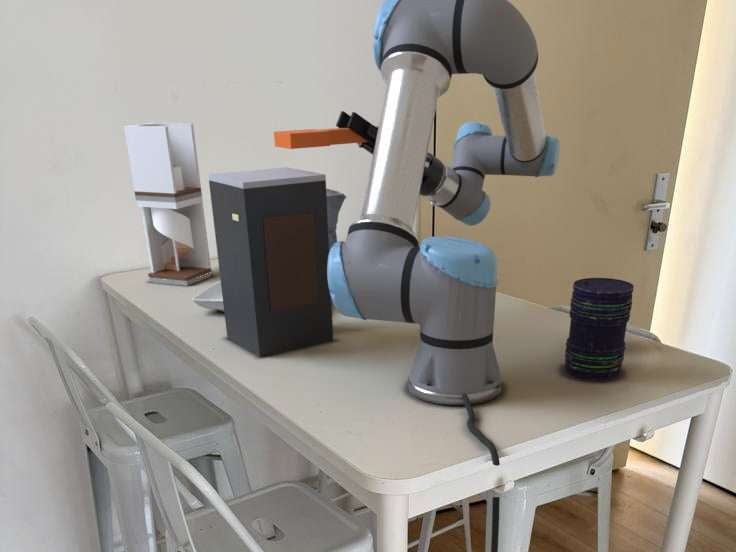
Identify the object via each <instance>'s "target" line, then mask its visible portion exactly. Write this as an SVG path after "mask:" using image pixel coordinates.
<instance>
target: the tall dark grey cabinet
mask: <svg viewBox="0 0 736 552" xmlns="http://www.w3.org/2000/svg"><path fill="white" fill-rule="evenodd" d="M207 176H208V185H209V186H208V187H209V193H210V203H211V210H212V211H211V212H212V219H213V227H214V228H213V229H214V235H215V245H216V253H217V262H218V269H219V278H220V279H219V281H220V280H221V288H222V297H223V305H224V312H223V313H224V322H225V330H226V339H227V340H229V341H231V342H233V343H234V344H236V345H238V346H239V347H241V348H243V349H245V350H246V351H248V352H249V353H252V354H254V356H257V357H258V358H263V357H267V356H272V355H276V354H281V353H285V352H286V353H287V352H289V351H293V350H299V349H303V348H307V347H312V346H316V345H317V346H318V345H321V344H326V343H330V342H333V341H334V327H333V325H334V324H333V306H332V304H333V303H332V299H331V295H330V291H329V286H328V278H327V264H328V256H329V239H328V217H327V196H326V189H327V181H326V180H327V178H326V174H325V173H319V172H314V171H308V170H304V169H299V168H292V167H275V168H265V169H263V168H262V169H253V170H242V171H232V172H231V171H230V172H219V173H209V174H207Z"/></svg>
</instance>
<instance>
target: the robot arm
mask: <svg viewBox="0 0 736 552" xmlns="http://www.w3.org/2000/svg"><path fill="white" fill-rule="evenodd" d="M373 38H374V42H373V43H372V44H373V45H372V48H373V50H372V51H373V58H374V62H375V65H376V67H377V69H378V71H380V76H381V79H382V81H383V82H384V83H385V85H386V86H385V87H386V88H385V93H384V98H383V102H382V108H381V113H380V118H379V123H378V126H379V127H378V128H376V127H375V126H376V125H374V124H373V123H371V122H369V121H368V120H367V119H365V118H364V117H363V116H361V115H360V114H358V113H357V112H356V111H352V112H351V114H348V113H347V112H345V111H343V110H341V111H340V114H339V117H338V119H337V122H336V123H335V126H336V127H337V128H349V129H351V130H352V131H354V132H355V133H357V134H358V135H359V136H361V137H362V138H364V139H365V140H367V141H368V142H362V143H356V144H357V145H358V148H360V149H364V150H365V151H367V152H368V153H370V154H371V155H372V158H371V163H370V168H369V173H368V178H367V183H366V188H365V193H364V197H363V202H362V209H361V213H360V218H359V219H358V220H356V221H353V222H352V223H351V224H350V225H349V227H348V231H347V234H346V235H347V236H346V240H345V241H344V240H340V241H337V242H336V243H335V244H334V245H333V247H332V248H331V249H330V252H329V256H328V264H327V278H328V286H329V291H330V295H331V302H332V304H333V306H334V308H335V309H336V310H337V311H338V313H340V314H341V315H342V316H344V317H348V318H354V319H360V320H362V321H367V320H368V321H369V320H371V321H372V320H373V321H383V322H394V323H404V324H414V325H415V324H416V325H419V330H420V331H419V332H420V334H419V338H420V339H419V345H418V348H417V350H416V353H415V357H414V359H413V363H412V365H411V368H410V371H409V374H408V391H409V392H410V394H412V395H413V396H414V397H416V398H418V399H419V400H423V401H424V402H428V403H432V404H437V405H446V406H464V407H465V411H466V412H467V416H468V418H467V421H466V427H467V428H468V430H469V432H470V433H472V435H473V436H475V438H477V440H478V441H479V442H480V443H482V445H484V446H486V448H487V449H488V450H489V453H490V457H491V461H492V465H493V466H497V467H499V466H500V464H501V462H500V456H499V453H498V450H497V447H496V445H495V444H494V442H493V441H492V440H491V439H489V438H488V437H486V436H485V434H484V433H483V432H481V430H479V429H478V428H477V427H476V426H475V424H474V422H475V419H476V415H475V410H474V408H473V406H472V405H475V404H481V403H485V402H488V401H491V400H493V399H495V398H496V397H498V396H499V394H500V393H501V391H502V381H503V380H502V379H503V377H502V375H501V369H500V367H499V363H498V359H497V357H496V356H497V355H496V352H495V348H494V343H493V342H494V328H495V327H494V326H495V311H496V296H497V286H498V283H499V281H498V277H497V276H498V263H497V261H498V260H497V256H496V254H495V252H494V251H493V250H492V249H491V248H490V247H488V246H487V245H485V244H483V243H480V242H477V241H474V240H471V239H467V238H461V237H455V236H439V235H437V236H429V237H426V238H424V239H423V240H422V241H421V244H420V241H419V240H420V239H419V238H418V236H417V235H416V233H415V232H414V230H413V229H414V223H415V219H416V218H415V217H416V213H417V208H418V203H419V198H420V196H422V197H423V198H424V199H426V200H428V201H430V206H431V207H436V206H437V207H438V208H440V209H441V210H443V211H444V212H446V213H447V214H449V215H450V216H451V217H452V218H454V219H455V220H456V221H459V222H461V223H463V224H464V225H466V226H470V227H471V226H472V227H473V226H477V225H479V224H480V223H482V222H483V221H484V220H485V219H486V218H487V216H488V214H489V212H490V209H491V200H490V196H489V195H488V194H487V192H486V191H485V190H483V188H484V183H485V177H486V176H487V175H491V176H515V177H516V176H519V177H534V178H538V177H539V178H540V177H551V176H553V175H555V174H556V172H557V168H558V165H559V158H560V140H559V138H558V137H556V136H552V135H551V136H550V135H546V130H545V124H544V118H543V113H542V112H543V111H542V107H541V99H540V95H539V89H538V88H539V87H538V83H537V77H536V70H537V67H538V64H539V50H538V44H537V40H536V37H535V34H534V32H533V30H532V27H531V26H530V24H529V22H528V21H527V19H526V18H525V17H524V15H523V14H522V13H521V12H520V11H519V10H518V9H517V7H516V6H514V4H512V2H510V1H509V0H384V1H383V2H382V4H381V6H380V8H379V10H378V13H377V16H376V19H375V23H374V29H373ZM469 74H477V75H482V77H483V79H484V81H485V82H486V84H488V85H489V86H490V87H491V88H492V91H493V96H494V99H495V102H496V106H497V110H498V113H499V117H500V121H501V125H502V128H503V132H504V135H493V131H492V129H491V127H490V126H489V125H487V124H485V123H480V122H479V121H468V122H466V123H463V124H461V126H460V127H459V129H458V130H457V135H456V138H455V141H454V144H453V147H452V149H453V151H452V156H451V163H450V166H449V165H447V163H445V162H443V161H441V160H440V159H439V158H437V157H436V156H434V154H433V153H431V152H428V151H429V145H430V142H431V141H430V140H431V136H432V132H433V126H434V120H435V115H436V110H437V105H438V100H439V98H440V97H442V96H443V95H444V94H446V93H447V92H448V90H449V88H450V86H451V80H452V77H453V75H469ZM500 501H501V500H500V496H492V509H491V511H492V512H491V545H490V552H499V533H500Z"/></svg>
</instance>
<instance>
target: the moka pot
mask: <svg viewBox="0 0 736 552" xmlns="http://www.w3.org/2000/svg"><path fill="white" fill-rule="evenodd" d="M326 196H327V217H328V239H329V252H330V249H331V248H332V247H333V245H334V244H335V243H336V242H338V235H337V231H336V230H337V224H338V222H339V221H338V220H339V214H340V211H341V210H342V207H343V204H344V201H345V200H346V199H347V195H346V194H344V193H341V192H340V191H338V190H334V189H330V188H326Z"/></svg>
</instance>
